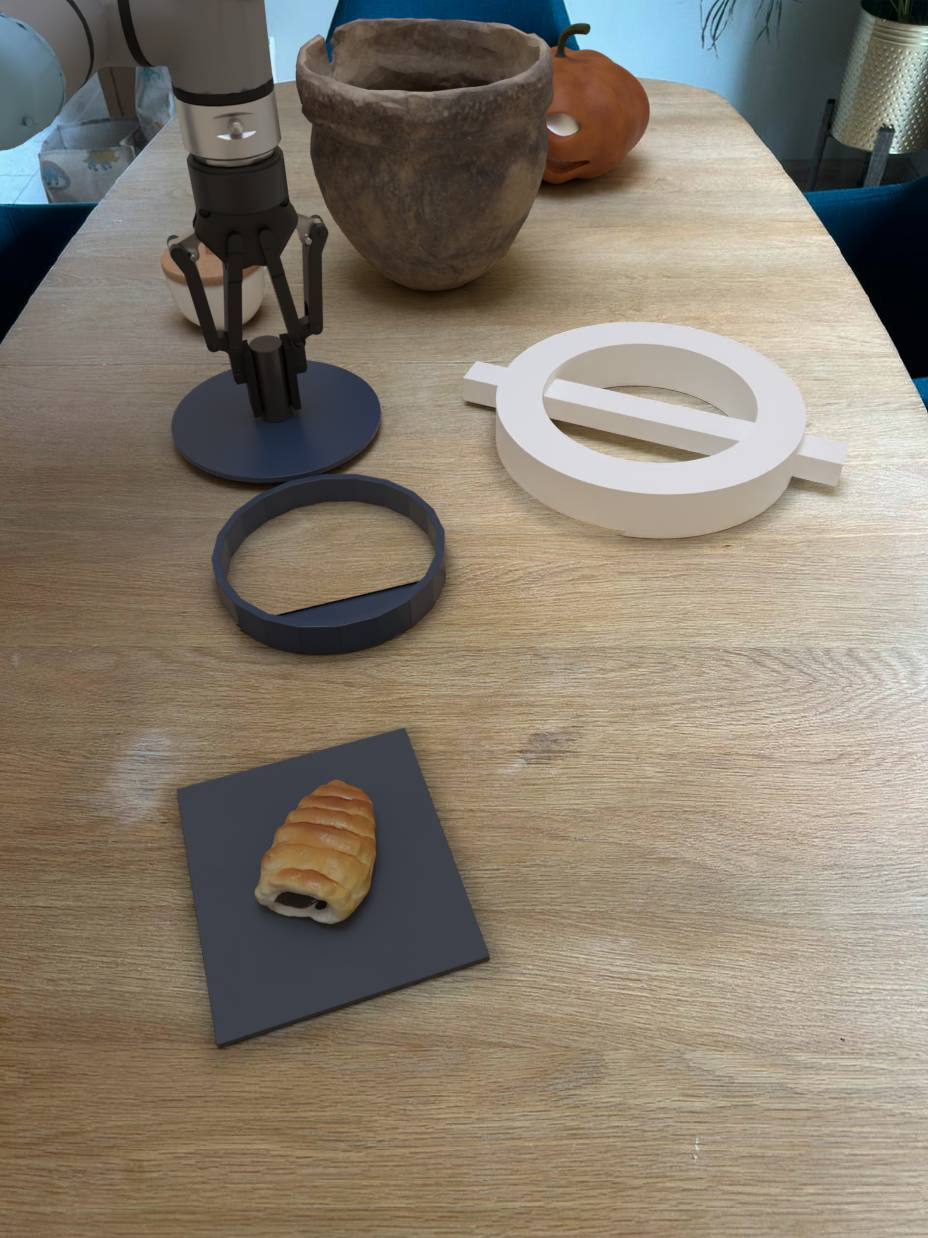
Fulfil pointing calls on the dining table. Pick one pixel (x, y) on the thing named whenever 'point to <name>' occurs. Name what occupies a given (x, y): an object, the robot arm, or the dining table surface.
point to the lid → (276, 420)
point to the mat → (300, 946)
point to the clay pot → (428, 141)
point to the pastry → (321, 856)
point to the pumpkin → (591, 112)
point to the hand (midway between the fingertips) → (275, 405)
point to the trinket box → (213, 287)
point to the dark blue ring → (343, 619)
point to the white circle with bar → (652, 428)
